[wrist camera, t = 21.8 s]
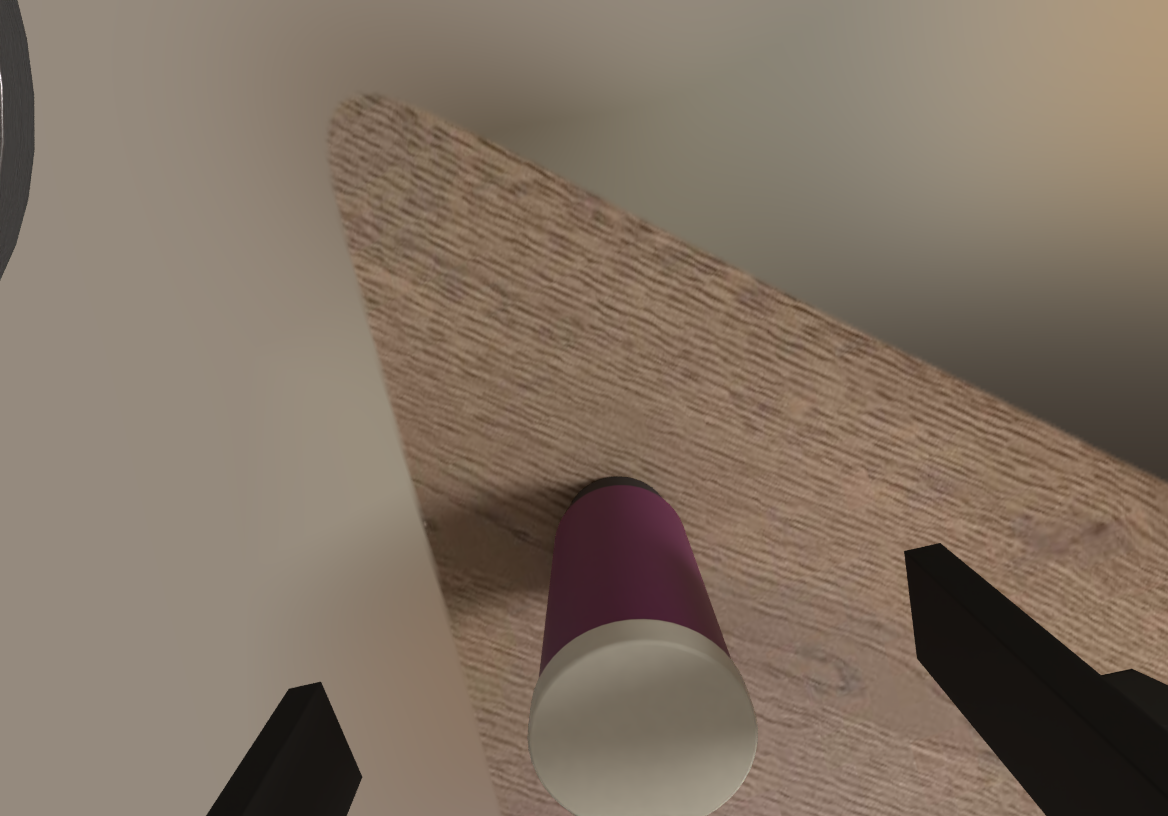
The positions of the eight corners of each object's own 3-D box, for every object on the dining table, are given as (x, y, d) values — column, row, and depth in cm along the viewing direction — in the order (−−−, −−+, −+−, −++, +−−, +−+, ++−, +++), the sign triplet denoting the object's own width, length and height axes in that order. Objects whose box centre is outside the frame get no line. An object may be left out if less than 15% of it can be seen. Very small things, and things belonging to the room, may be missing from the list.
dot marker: (539, 481, 21) (499, 669, 12) (667, 451, 21) (736, 618, 11) (571, 594, 22) (559, 853, 13) (693, 567, 22) (777, 811, 12)
